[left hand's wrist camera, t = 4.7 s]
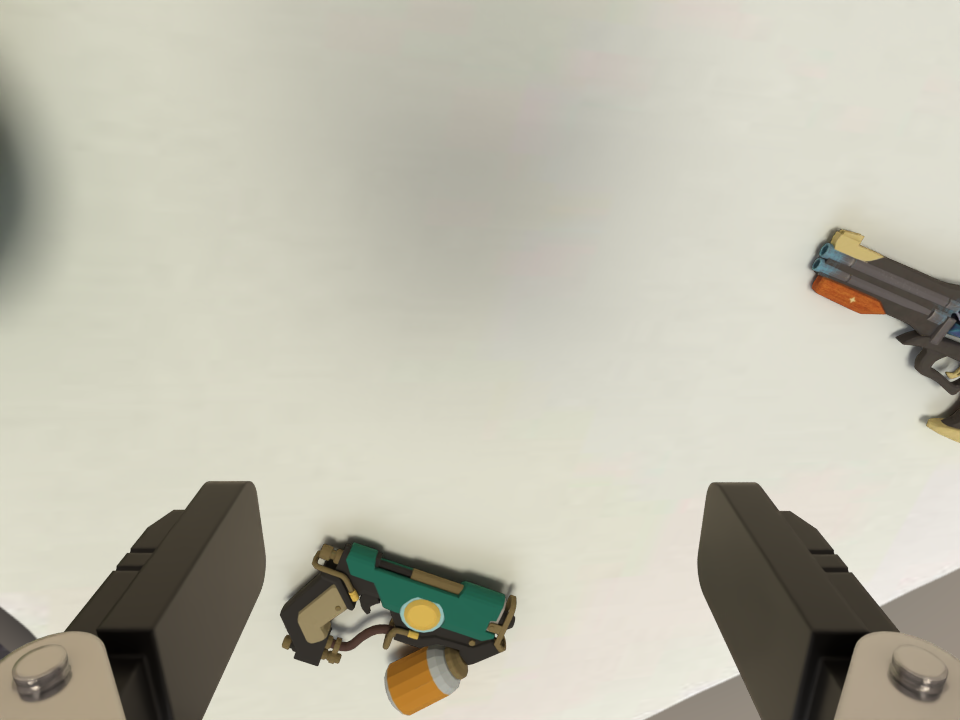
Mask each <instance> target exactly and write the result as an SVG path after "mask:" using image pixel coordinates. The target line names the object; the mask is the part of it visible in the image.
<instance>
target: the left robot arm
mask: <svg viewBox="0 0 960 720" xmlns="http://www.w3.org/2000/svg"><path fill="white" fill-rule="evenodd" d="M697 565H698V576H699V582H700V586H701V589H702V592H703V595H704V597H705V599H706V601H707V603H708V605H709V608H710V610H711V612H712V614H713V616H714V618H715V621H716V623H717V625H718V627H719V629H720V631H721V633H722V636H723V638H724V640H725V642H726V644H727V646H728V649H729V651H730V653H731V655H732V657H733V659H734V662H735V664H736V666H737V668H738V670H739V672H740V674H741V677H742V679H743V681H744V683H745V685H746V687H747V690H748V692H749V694H750V696H751V698H752V700H753V702H754V705H755V707H756V709H757V711H758V713H759V715H760V718H761V720H960V660H959V659H957V658H956V657H955V656H953V655H952V654H950V653H949V652H947V651H946V650H944V649H942V648H940V647H938V646H937V645H935V644H933V643H930V642H928V641H926V640H924V639H921V638H918V637H915V636H912V635H908V634H904V633H900V631H899V630H898V629H897V628H896V627H895V625H894V624H893V623H892V622H891V620H890V619H889V618H888V617H887V615H886V614H885V613H884V612H883V610H882V609H881V608H880V607H879V605H878V604H877V603H876V602H875V601H874V599H873V598H872V597H871V596H870V594H869V593H868V592H867V591H866V589H865V588H864V587H863V586H862V584H861V583H860V582H859V581H858V580H857V578H856V577H855V576H854V575H853V573H852V572H848V567H847V566H846V565H845V563H844V562H843V561H842V560H841V559H840V557H839V556H838V555H837V554H834V550H833V549H832V547H831V546H830V545H829V544H828V542H827V541H826V540H825V539H824V537H823V536H822V535H821V534H820V533H819V531H818V530H817V529H816V528H814V527H813V526H811V525H810V524H808V523H807V522H805V521H804V520H802V519H801V518H800V517H798V516H797V515H795V514H794V513H792V512H791V511H779V510H778V509H777V507H776V506H775V505H774V503H773V502H772V501H771V499H770V498H769V497H768V495H767V494H766V493H765V491H764V490H763V489H762V487H761V486H760V485H759V484H757V483H755V482H714V483H711V484H710V486H709V488H708V490H707V495H706V501H705V508H704V515H703V522H702V529H701V536H700V543H699V550H698V561H697ZM265 568H266V555H265V547H264V540H263V533H262V526H261V519H260V512H259V504H258V497H257V491H256V488H255V486H254V484H253V483H252V482H251V481H208V482H206V483H205V484H204V485H203V486H202V487H201V489H200V490H199V491H198V493H197V494H196V495H195V497H194V498H193V499H192V501H191V502H190V503H189V505H188V506H187V508H186V509H185V510H173V511H171V512H170V513H168V514H167V515H165V516H164V517H163V518H161V519H160V520H158V521H157V522H155V523H154V524H152V525H151V526H149V527H148V528H147V529H146V530H145V531H144V533H143V534H142V535H141V536H140V538H139V539H138V540H137V541H136V543H135V544H134V545H133V546H132V548H131V551H130V553H127V554H126V555H125V556H124V558H123V559H122V560H121V561H120V563H119V564H118V565H117V569H116V571H112V573H111V574H110V575H109V576H108V578H107V579H106V580H105V581H104V583H103V584H102V585H101V586H100V587H99V589H98V590H97V591H96V592H95V594H94V595H93V596H92V597H91V599H90V600H89V601H88V602H87V604H86V605H85V606H84V607H83V609H82V610H81V611H80V612H79V614H78V615H77V616H76V617H75V619H74V620H73V621H72V622H71V624H70V625H69V626H68V627H67V629H66V630H65V631H64V632H61V633H56V634H52V635H48V636H45V637H42V638H39V639H36V640H34V641H32V642H30V643H27V644H25V645H23V646H22V647H20V648H18V649H16V650H14V651H13V652H11V653H10V654H8V655H7V656H5V657H4V658H3V659H1V660H0V720H202V718H203V716H204V714H205V712H206V710H207V708H208V705H209V703H210V701H211V699H212V697H213V694H214V692H215V690H216V688H217V686H218V684H219V681H220V679H221V677H222V675H223V673H224V670H225V668H226V666H227V664H228V662H229V660H230V657H231V655H232V653H233V651H234V649H235V646H236V644H237V642H238V640H239V638H240V636H241V633H242V631H243V629H244V627H245V625H246V622H247V620H248V618H249V616H250V614H251V612H252V609H253V607H254V605H255V603H256V601H257V598H258V596H259V594H260V592H261V589H262V586H263V582H264V577H265Z"/></svg>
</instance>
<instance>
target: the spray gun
mask: <svg viewBox="0 0 960 720" xmlns="http://www.w3.org/2000/svg"><path fill="white" fill-rule="evenodd" d="M333 549H334V547H332V546H329V545H327V544H324V545H323V547H322V549H321V550H320V551H318V552H317V553H316V555H315V556H314V558H313V562H312V565H313V566H314V568H315V569H317V570H320V571H321V572H320V573H319V574H318V575H317V576H316V577H315V578H313V579H312V580H311V581H310V582H309V583H308V584H306V585H305V586H304V587H303V588H302V589H301V590H300V591H299V592H298V593H297V594H295V595H294V596H293V597H292V598H291V599H290V600H289V601H288V602H287V603H286V604H285V605H284V606H283V608H282V610H281V613H280V616H281V618H282V620H283V623H284V625H285V627H286V629H287V631H288V633H289V635H286V636H285V638H284V640H283V643H282V647H283V648H285V649H287V650H288V649H289V648H291V649H292V650H293V651H294V652H296V653H295V656H294V659H297V660H300V661H303V662H306V663H309V664H312V665H315V666H318V665H319V662H320V660H321V659H323V660H324V659H327V660H328V662H329V663H332V664H333V663H337V664H338V663H339V662H340V659H341V656H342V655H341V654H339V653H338V651H350V650H352V649H354V648H356V647H357V646H358V645H359V644H360V643H361V642H363V641H364V640H366V639H367V638H369V637H371V636H373V635H376V634H386V635H385V639H384V643H383V648H384V649H388V648H389V646H390V643H391V641H392V638H393V637H394V640H397V641H400V642H403V643H406V644H409V645H412V646H415V647H418V648H421V649H419V650H417V651H415V652H413V653H411V654H409V655H407V656H405V657H403V658H401V659H399V660H397V661H395V662H393V663H391V664H390V665H389V666H388V668H387V670H386V673H385V677H384V679H385V689H386V693H387V696H388V699H389V701H390V702H391V704H392V705H393V707H395V708H396V709H397V710H398V711H399V712H400V713H402V714H404V715H411V714H413V713H415V712H417V711H419V710H421V709H423V708H425V707H427V706H429V705H431V704H433V703H435V702H437V701H439V700H441V699H443V698H445V697H447V696H449V695H450V694H452V693H453V692H454V691H455V690H456V689H457V688H458V687H459V684H460V680H461V679H463V678H464V677H466V676H467V673H468V665H471V664H474V663H477V662H479V661H482V660H484V659H486V658H489V657H491V656H493V655H496V654H498V653H500V652H503V651H505V650H506V640H505V637H504V634H505V632H506V630H507V629H510V628H512V627H513V625H514V622H515V617H514V613H515V609H516V596H513V595H510V596H509V598H508V600H507V602H506V597H505V595H504V594H502V593H499V592H497V591H494V590H491V589H488V588H485V587H482V586H479V585H476V584H473V583H470V582H467V581H463V582H461V583H460V584H459V583H456V582H454V581H451V580H448V579H445V578H442V577H439V576H436V575H433V574H430V573H427V572H424V571H421V570H418V569H415V568H411V567H408V566H405V565H402V564H399V563H396V562H393V561H390V560H387V559H384V558H382V555H383V553H381V552H378V550H376V549H373V548H370V547H367V546H364V545H361V544H358V543H355V542H354V543H353V544H352V545H351V544H348V543H347V544H346V545H345V548H344V550H342V549H338V550H337V551H336V550H333ZM319 558H321V559H324V560H326V561H325V563H324V565H323V566H322V565H319V564H318V560H319ZM360 595H361V596H360ZM359 596H360V599H359ZM358 599H359V600H360V603H361V607H362V609H363V610H364V612H365V613H366V614H369V613H370V611H371V610H370V607H371V606H372V605H375V604H378V603H380V600H381V603H382V606H383V607H384V608H386V609H388V610H390V612H391V615H392V619H391V621H390V623H389V625H381V624H379V625H374V626H371V627H369V628H367V629H365V630H363V631H362V632H360V633H359V634H358V635H356V636H355V637H354V638H353V639H352V640H350V641H348V642H342V638H339V637H337V640H335V639H334V638H333V636H330V632H331V630H332V628H331V623H330V620H332V619H333V618H335V617H336V616H338V615H339V614H341V613H342V612H343V611H345V610H346V609H349V610H353V609H354V608H355V604H356V601H357V600H358ZM509 609H510V610H509ZM508 611H509V612H508ZM495 634H497V635H498V636H497V638H496V637H495ZM422 647H424V648H422ZM329 648H332V649H333V650H332V651H328V649H329Z"/></svg>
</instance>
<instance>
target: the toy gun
mask: <svg viewBox="0 0 960 720" xmlns="http://www.w3.org/2000/svg"><path fill="white" fill-rule="evenodd" d="M863 238H864V236H861V234H859V233H854V232H850V231H846V230H842V229H841V230H840V232H838V231H837V232H836V233H835V235H834V236H833V238H832V240H831V244H830V243H826V244H825V245H823V247H822V248H821V250H820V254H819V255H820V257H822V258H820V257H819V258H817V259H816V260H815V262H814V263H813V265H812V270H814V272H815V273H817V274H818V276H817V278H816V279H815V281H814V282H813V285H812V289H813V290H814V291H815V292H816V293H818V294H819V295H822V296H824V297H826V298H828V299H830V300H832V301H834V302H836V303H838V304H840V305H842V306H844V307H847V308H849V309H851V310H853V311H855V312H857V313H860V314H887V315H890V316H892V317H894V318H897V319H899V320H901V321H903V322H905V323H907V324H909V325H910V326H912V327H913V328H914V329H915V330H913V331H910V332H907V333H904V334H902V335H899V336H897V337H896V339H897V340H898V341H900V342H901V343H902V344H904V345H915V346H920V347H923V349H922V351H921V352H920V353H919V354H918V356H917V357H916V359H915V369H916V370H917V371H918V372H919V373H920V374H922V375H924V376H926V377H929V378H931V379H933V380H934V381H936V382H937V383H939V384H940V385H941V386H942V387H943V388H944V389H945V390H946V391H947V392H948V393H950V394H951V395H955V394H956V393H958V392H959V391H960V378H959V379H957V380H955V381H953V382H950V381H948V380H947V379H946V378H945V377H944V376H943V375H941V374H940V373H939V372H938V371H936V370H935V369H933V368H931V366H932V365H933V364H934V362H935V361H937V360H939V359H941V358H943V357H946V356H948V357H951V358H953V359H955V360H958V361H960V343H959V342H956V341H953V340H951V339H948V338H945V337H944V336H945V335H946V334H950V335H953V336H956V337H959V338H960V285H955V284H949V283H945V282H942V281H940V280H938V279H935V278H933V277H931V276H928V275H926V274H924V273H921V272H919V271H917V270H915V269H912V268H910V267H908V266H905V265H903V264H901V263H898V262H896V261H894V260H892V259H889V258H887V257H885V256H883V255H881V254H879V253H877V252H875V251H873V250H870V249H868V248H866V247H864V246H861V245H859V244H860V243H861V241H862V240H863ZM945 373H946V375H947V376H948V377H949V378H950V379H953V378H956V377H958V376H960V367H959V368H958V369H957V370H956V371H955V372H945ZM926 426H927V427H929V428H930V429H932V430H933V431H935V432H937V433H938V434H941V435H943V436H945V437H947V438H949V439H952V440H954V441H956V442H959V443H960V408H959V409H958V410H957V411H956V412H955V413H954V414H952V415H951V416H949V417H947V418H945V419H944V418H931V419H929V420H928V422H927V425H926Z"/></svg>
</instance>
